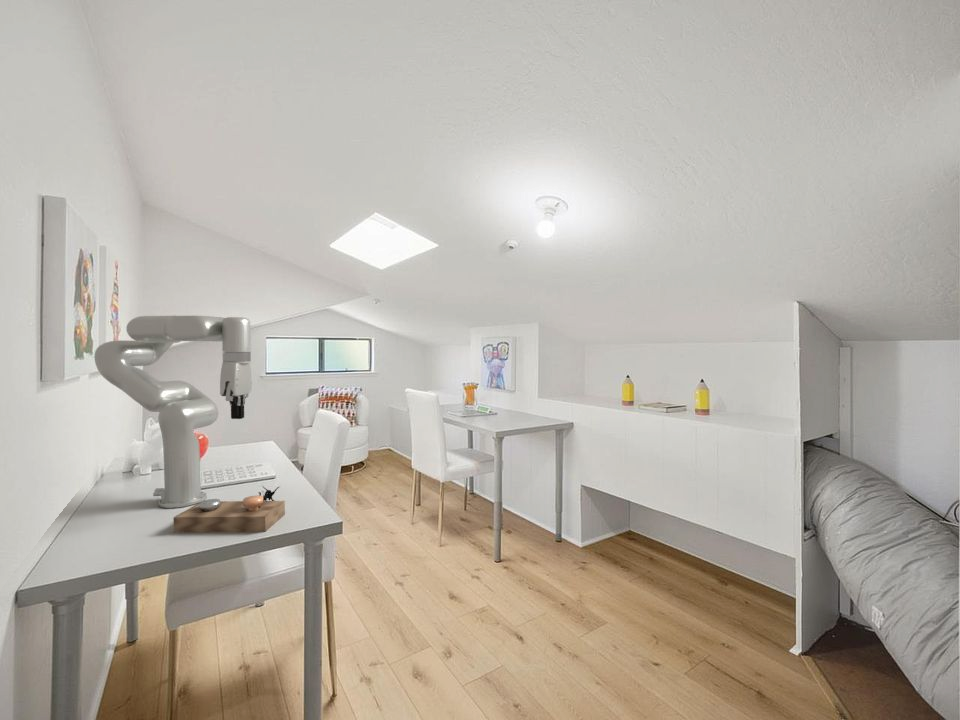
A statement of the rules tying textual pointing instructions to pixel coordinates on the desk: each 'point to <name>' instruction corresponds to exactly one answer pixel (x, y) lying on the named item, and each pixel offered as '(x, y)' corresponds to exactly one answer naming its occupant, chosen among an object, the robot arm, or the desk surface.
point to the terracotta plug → (253, 502)
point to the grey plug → (209, 504)
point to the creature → (268, 494)
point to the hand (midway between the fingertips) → (237, 418)
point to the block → (230, 518)
